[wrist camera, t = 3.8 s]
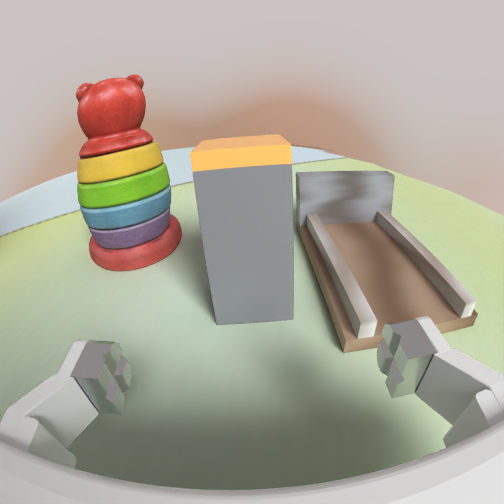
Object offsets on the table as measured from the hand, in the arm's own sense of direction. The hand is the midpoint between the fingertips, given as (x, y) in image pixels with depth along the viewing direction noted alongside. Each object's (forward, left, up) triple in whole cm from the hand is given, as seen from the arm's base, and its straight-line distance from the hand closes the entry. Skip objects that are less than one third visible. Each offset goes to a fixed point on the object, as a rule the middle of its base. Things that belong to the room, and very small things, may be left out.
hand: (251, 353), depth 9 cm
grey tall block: (0, +11, -6) cm, 13 cm away
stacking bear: (-12, +21, -7) cm, 25 cm away
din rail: (+10, +14, -6) cm, 19 cm away
